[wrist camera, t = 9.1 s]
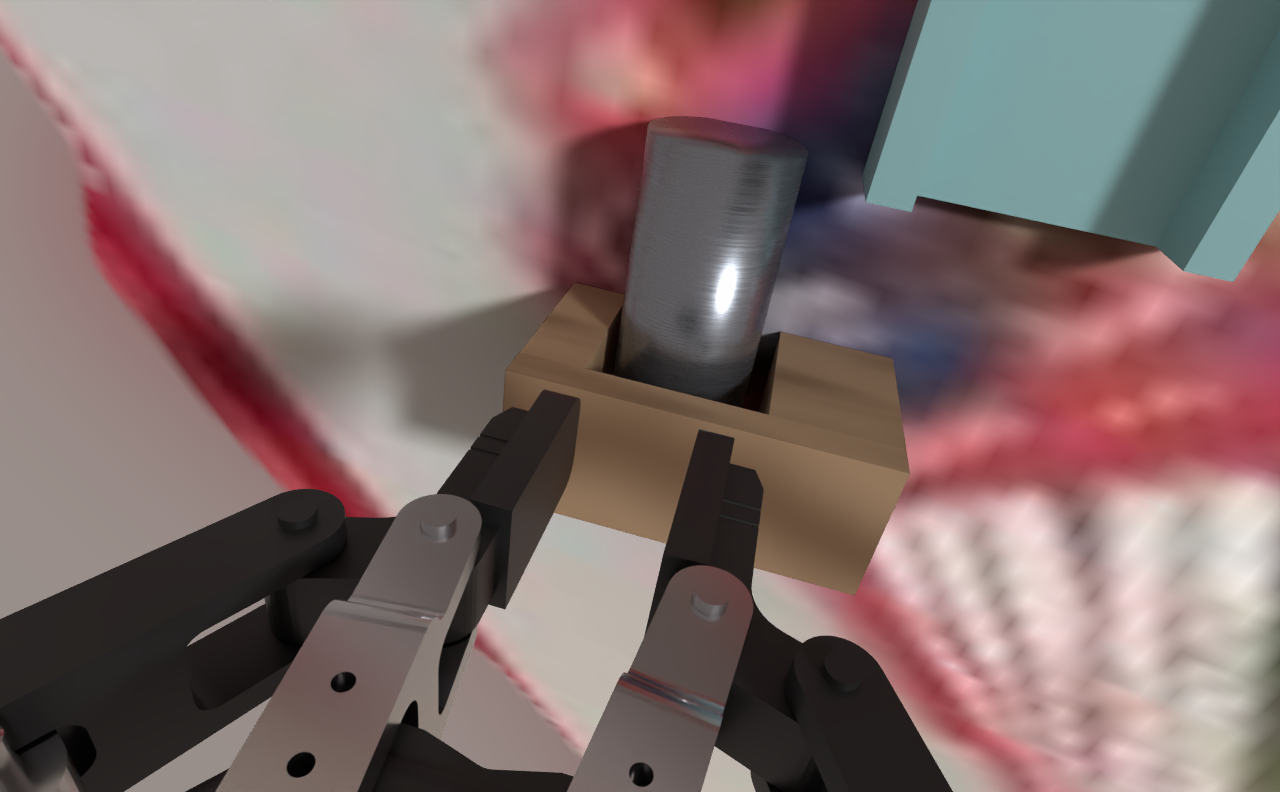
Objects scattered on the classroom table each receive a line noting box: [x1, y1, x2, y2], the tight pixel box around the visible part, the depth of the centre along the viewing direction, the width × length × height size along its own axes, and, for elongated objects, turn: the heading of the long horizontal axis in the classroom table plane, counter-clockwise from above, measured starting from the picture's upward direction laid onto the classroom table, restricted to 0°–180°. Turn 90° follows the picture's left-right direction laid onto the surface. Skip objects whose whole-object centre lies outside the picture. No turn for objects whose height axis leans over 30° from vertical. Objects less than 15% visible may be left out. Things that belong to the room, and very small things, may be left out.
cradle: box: [862, 0, 1280, 282], centre depth 19 cm, size 9×10×3 cm
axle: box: [613, 116, 808, 408], centre depth 25 cm, size 14×5×5 cm, turn 172°
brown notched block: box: [503, 283, 910, 595], centre depth 25 cm, size 5×12×7 cm, turn 81°
